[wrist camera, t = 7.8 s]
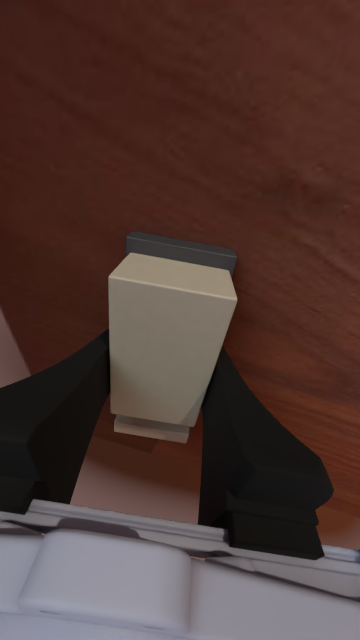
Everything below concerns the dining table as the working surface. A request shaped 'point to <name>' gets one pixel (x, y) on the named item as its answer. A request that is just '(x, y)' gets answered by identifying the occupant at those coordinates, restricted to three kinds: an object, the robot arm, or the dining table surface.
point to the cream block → (166, 332)
